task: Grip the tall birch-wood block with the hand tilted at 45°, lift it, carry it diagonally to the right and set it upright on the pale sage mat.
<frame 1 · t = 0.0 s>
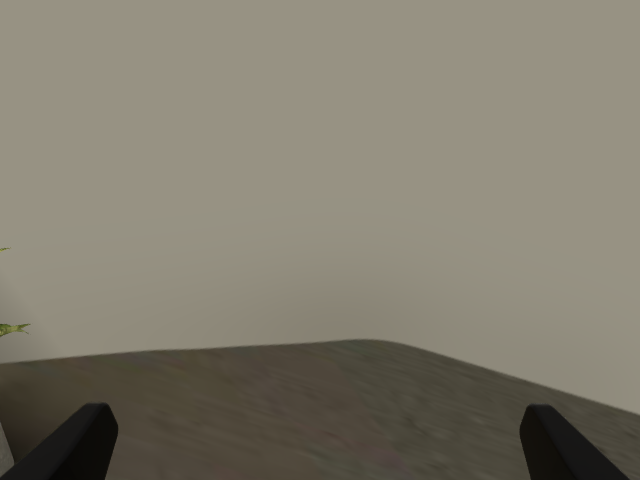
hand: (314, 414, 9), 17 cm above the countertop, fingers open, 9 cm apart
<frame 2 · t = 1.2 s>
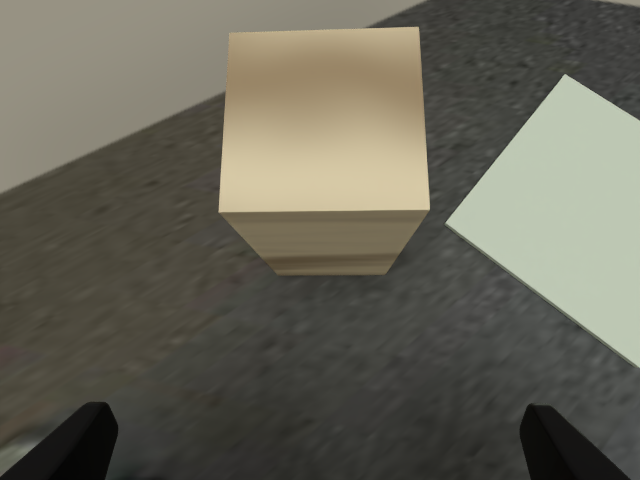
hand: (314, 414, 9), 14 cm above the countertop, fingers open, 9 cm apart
birch block: (331, 223, 24), on the countertop
sage mat: (594, 210, 24), on the countertop
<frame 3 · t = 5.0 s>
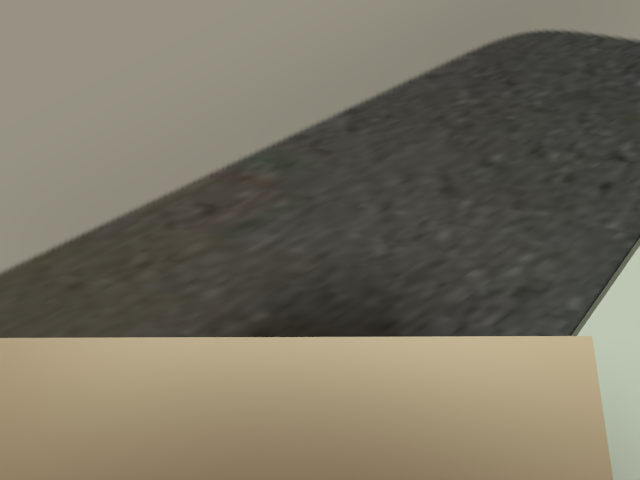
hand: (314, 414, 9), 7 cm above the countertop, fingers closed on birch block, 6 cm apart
birch block: (324, 423, 15), on the countertop, touching gripper
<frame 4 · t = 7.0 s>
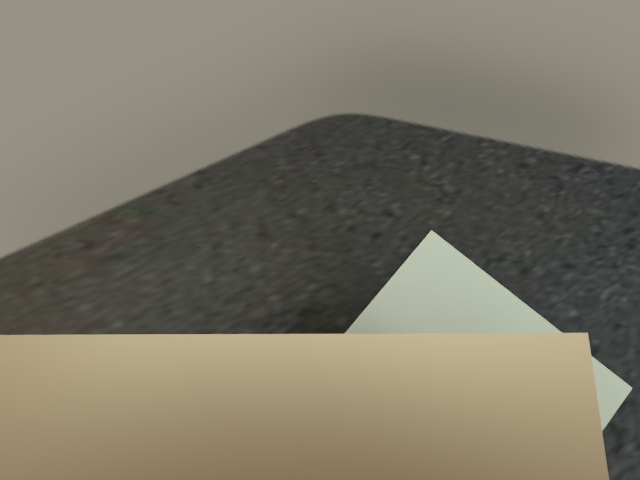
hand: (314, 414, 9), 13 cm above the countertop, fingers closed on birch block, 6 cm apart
birch block: (323, 422, 15), point 6 cm above the countertop, touching gripper
sage mat: (451, 398, 21), on the countertop
when the fingers open (8 cm above the countertop, at t = 9.3 s): birch block stays where it is, resting on sage mat.
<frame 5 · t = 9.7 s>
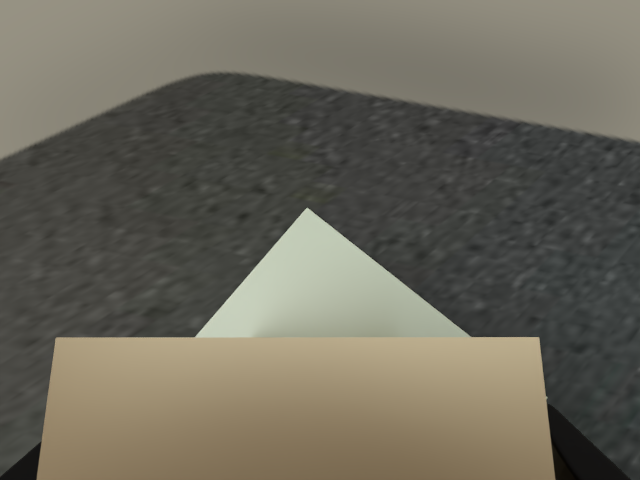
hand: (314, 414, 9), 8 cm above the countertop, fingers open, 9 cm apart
birch block: (324, 417, 16), resting on sage mat
sage mat: (325, 415, 17), on the countertop
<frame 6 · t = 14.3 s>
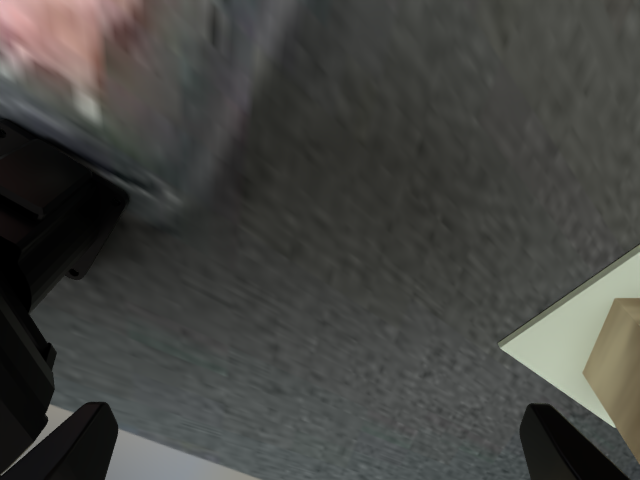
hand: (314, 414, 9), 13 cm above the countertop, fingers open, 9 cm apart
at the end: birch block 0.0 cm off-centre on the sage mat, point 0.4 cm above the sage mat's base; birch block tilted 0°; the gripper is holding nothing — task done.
